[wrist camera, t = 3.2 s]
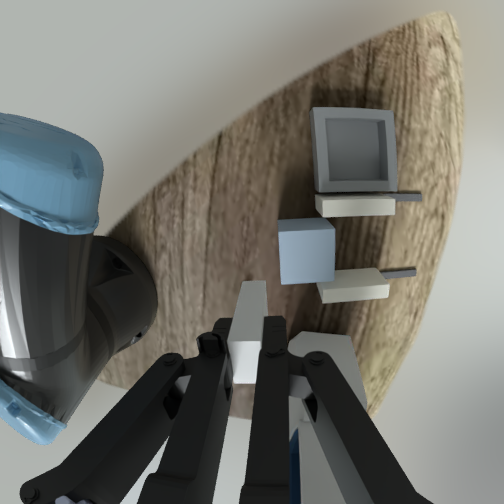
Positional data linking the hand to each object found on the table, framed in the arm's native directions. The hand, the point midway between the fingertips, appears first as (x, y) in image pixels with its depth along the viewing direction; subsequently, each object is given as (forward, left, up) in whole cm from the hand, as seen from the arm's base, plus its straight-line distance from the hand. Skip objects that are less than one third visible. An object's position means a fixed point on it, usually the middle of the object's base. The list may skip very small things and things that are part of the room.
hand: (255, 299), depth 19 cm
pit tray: (+10, +10, -12) cm, 18 cm away
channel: (+9, 0, -12) cm, 15 cm away
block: (+4, 0, -12) cm, 13 cm away
